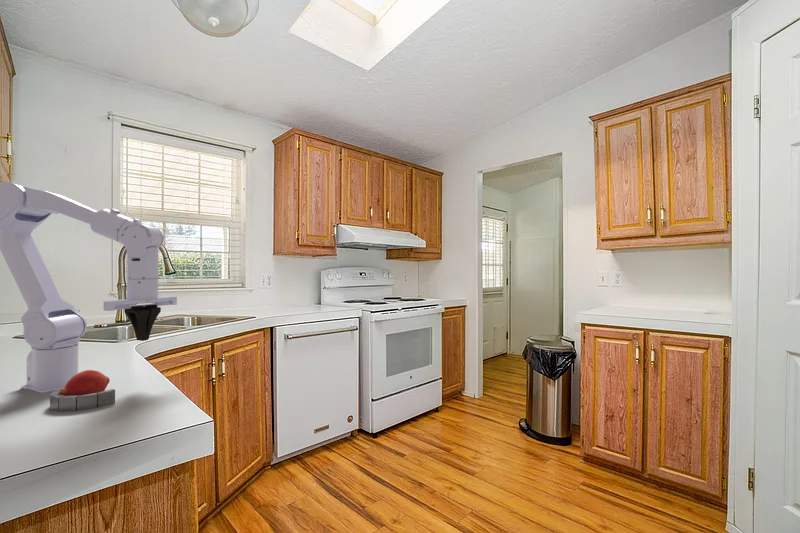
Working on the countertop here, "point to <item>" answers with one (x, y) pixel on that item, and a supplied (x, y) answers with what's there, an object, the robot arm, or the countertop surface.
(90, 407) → the split collar
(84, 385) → the onion
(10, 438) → the countertop surface
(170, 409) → the countertop surface
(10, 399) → the countertop surface
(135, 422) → the countertop surface
